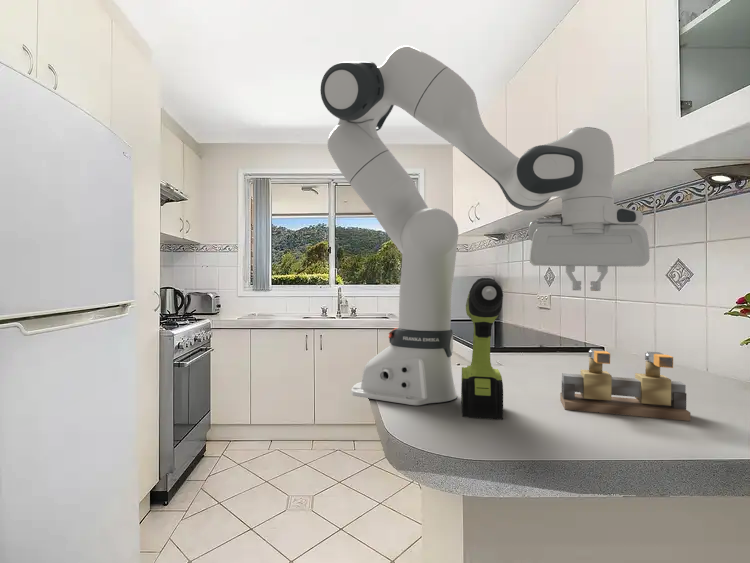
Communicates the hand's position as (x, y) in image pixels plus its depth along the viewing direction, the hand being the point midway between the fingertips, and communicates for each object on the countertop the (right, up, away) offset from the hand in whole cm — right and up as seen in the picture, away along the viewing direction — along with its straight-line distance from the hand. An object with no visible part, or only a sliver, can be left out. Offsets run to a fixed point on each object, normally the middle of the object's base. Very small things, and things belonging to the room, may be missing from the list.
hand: (585, 290), depth 84 cm
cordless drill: (-20, -23, -3) cm, 31 cm away
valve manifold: (+9, -23, +4) cm, 25 cm away
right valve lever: (+13, -14, -1) cm, 19 cm away
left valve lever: (+4, -13, +2) cm, 14 cm away
